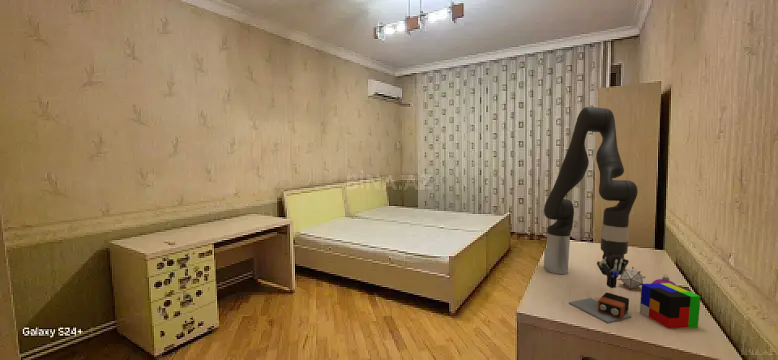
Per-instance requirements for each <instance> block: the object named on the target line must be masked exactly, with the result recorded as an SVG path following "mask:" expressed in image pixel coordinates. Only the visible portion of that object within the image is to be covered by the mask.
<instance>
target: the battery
mask: <svg viewBox="0 0 778 360" xmlns="http://www.w3.org/2000/svg"><path fill="white" fill-rule="evenodd" d="M597 301H598V311H599V312H601V313H604V314H607V315H610V316H613V317H616V318H619V319H622V317H623V316H624V315H625V314H627V312H628V311H629V308H630V307H629V306H630V305H629V304H630V299H629V298H628V297H624V296H622V295H618V294H615V293H611V292H605V293H604V294H603V295H601V297H600V298H599V299H597Z"/></svg>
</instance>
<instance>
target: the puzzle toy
mask: <svg viewBox="0 0 778 360" xmlns="http://www.w3.org/2000/svg"><path fill="white" fill-rule="evenodd" d="M677 286H678V285H677ZM677 286H675V285H672V284H670V283H656V284H652V283H643V284H642V285H641V291H640V302H639V303H640V304H639V313H640V314H641V315H644V316H645V317H646V318H647V317H648V318H649V319H650V320H653V321H654V322H656V323H659V324H660V325H661V326H664V327H665V328H666V329H684V328H685V329H686V328H688V329H689V328H699V327H698V326H699V317H700V307H701V297H702V296H700V295H698V294H696V293H693V292H691V291H689V290H686V289H684V288H681V287H680V286H678V287H677Z"/></svg>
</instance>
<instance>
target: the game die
mask: <svg viewBox="0 0 778 360" xmlns="http://www.w3.org/2000/svg"><path fill="white" fill-rule="evenodd" d="M634 268H635V267H634V266H632V268H628V269H626V268H625V270H624V271H623V273H622V275H620V278H617V280H618V281H621V282H622V283H623V286H625V285H626V286H627V287H628V288H629V291H631V290H632V289H635V288H637V289H640V288H641V287H640V286H642V284H644V279H645V278H646V276H643V275H642V274H641V272H642V271H637V270H636V269H634Z"/></svg>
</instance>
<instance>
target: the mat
mask: <svg viewBox="0 0 778 360" xmlns="http://www.w3.org/2000/svg"><path fill="white" fill-rule="evenodd" d="M568 304H569V305H570V306H572V307H574V308H576V309H578V310H581V311H583V312H585V313H586V314H588V315H590V316H592V317H594V318H596V319H598V320H599V321H602V322H604V323H606V324H611V323H616V322H620V321H623V320H627V319H631V318H632V316H631V315H629V314H628V313H626V314H625V315H624V316H623V317H622V319H619V318H616V317H613V316H610V315H607V314H604V313H601V312H599V311H598V299H595V298H592V297H588V298H581V299H579V300H573V301H569V302H568Z"/></svg>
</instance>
